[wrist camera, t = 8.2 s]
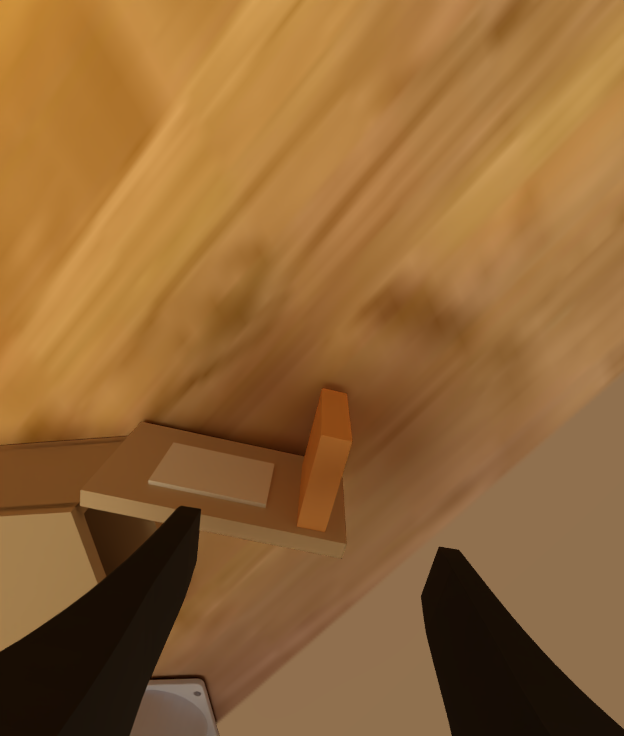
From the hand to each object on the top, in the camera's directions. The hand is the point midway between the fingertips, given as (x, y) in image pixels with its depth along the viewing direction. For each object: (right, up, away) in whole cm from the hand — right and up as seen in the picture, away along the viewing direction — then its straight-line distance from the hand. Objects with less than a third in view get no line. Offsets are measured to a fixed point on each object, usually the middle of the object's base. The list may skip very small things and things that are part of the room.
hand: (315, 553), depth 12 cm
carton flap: (-3, +3, +9) cm, 10 cm away
